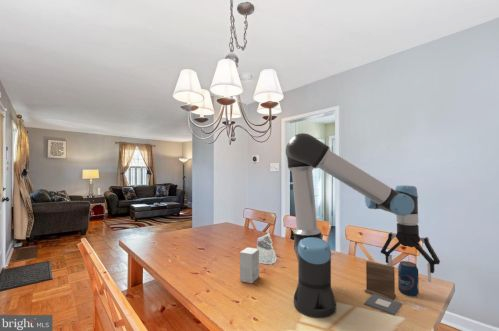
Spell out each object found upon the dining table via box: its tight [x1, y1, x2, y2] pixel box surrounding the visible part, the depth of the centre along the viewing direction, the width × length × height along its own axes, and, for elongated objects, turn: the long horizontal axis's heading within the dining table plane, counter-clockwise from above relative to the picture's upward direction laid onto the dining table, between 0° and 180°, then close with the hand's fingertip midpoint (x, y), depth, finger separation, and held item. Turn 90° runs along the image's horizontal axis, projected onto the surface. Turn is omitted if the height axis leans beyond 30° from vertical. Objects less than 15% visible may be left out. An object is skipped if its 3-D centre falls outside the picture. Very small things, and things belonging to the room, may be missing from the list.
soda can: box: [397, 260, 420, 298], centre depth 100 cm, size 7×7×12 cm
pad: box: [363, 294, 403, 316], centre depth 91 cm, size 10×10×1 cm
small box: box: [239, 247, 260, 284], centre depth 113 cm, size 8×6×13 cm
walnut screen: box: [364, 260, 397, 300], centre depth 99 cm, size 5×10×12 cm, turn 47°
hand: (409, 275), depth 100 cm, fingers open, 13 cm apart
